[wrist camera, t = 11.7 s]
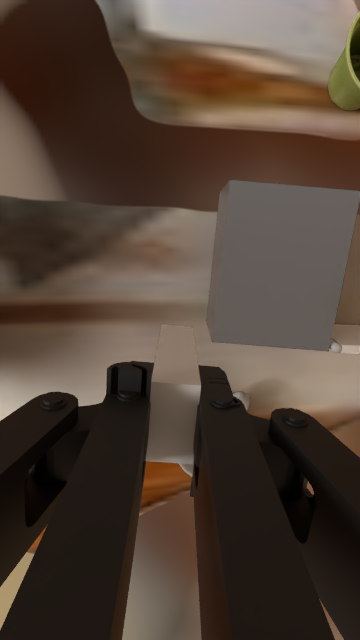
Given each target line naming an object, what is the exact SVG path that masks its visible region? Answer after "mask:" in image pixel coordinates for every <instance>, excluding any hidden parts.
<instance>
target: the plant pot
mask: <svg viewBox="0 0 360 640" xmlns="http://www.w3.org/2000/svg"><path fill="white" fill-rule="evenodd" d="M354 59H357V60H358V62H357V63H351V60H354ZM328 90H329V94H330V97H331V99H332V101H333V102H334V103H335V104H337V105H338V106H339V107H340V108H341V109H343V110H348V111H352V110H357V109H359V108H360V12H359V13H358V15H357V16H356V18H355V19H354V21H353V23H352V25H351V28H350V30H349V33H348V37H347V41H346V47H345V49H344V51H343V53H342V54H341V56H340V58H339V60H338V61H337V63H336V65H335V67H334V68H333V70H332V72H331V75H330V78H329V83H328Z"/></svg>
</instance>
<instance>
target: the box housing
mask: <svg viewBox="0 0 360 640" xmlns="http://www.w3.org/2000/svg"><path fill="white" fill-rule="evenodd" d="M359 201H360V191H353V190H342V189H329V188H318V187H306V186H295V185H283V184H271V183H260V182H247V181H237V180H230V181H229V182H228V183H227V184H226V186H225V187H224V188H223V189H222V191H221V192H220V197H219V205H218V215H217V225H216V234H215V244H214V253H213V263H212V272H211V282H210V291H209V301H208V310H207V320H206V321H207V325H208V329H209V333H210V336H211V340H212V342H220V343H232V344H244V345H257V346H269V347H281V348H293V349H306V350H318V351H329V348H330V343H331V338H332V333H333V328H334V323H335V318H336V314H337V309H338V304H339V299H340V294H341V289H342V284H343V279H344V274H345V270H346V265H347V260H348V255H349V250H350V245H351V240H352V235H353V231H354V226H355V221H356V216H357V211H358V206H359Z"/></svg>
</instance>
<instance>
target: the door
mask: <svg viewBox="0 0 360 640" xmlns="http://www.w3.org/2000/svg"><path fill="white" fill-rule="evenodd" d="M330 349H331V350H333V351H334V352H335V353H350V354H360V325H342V324H334V328H333V333H332V338H331V343H330Z"/></svg>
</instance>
